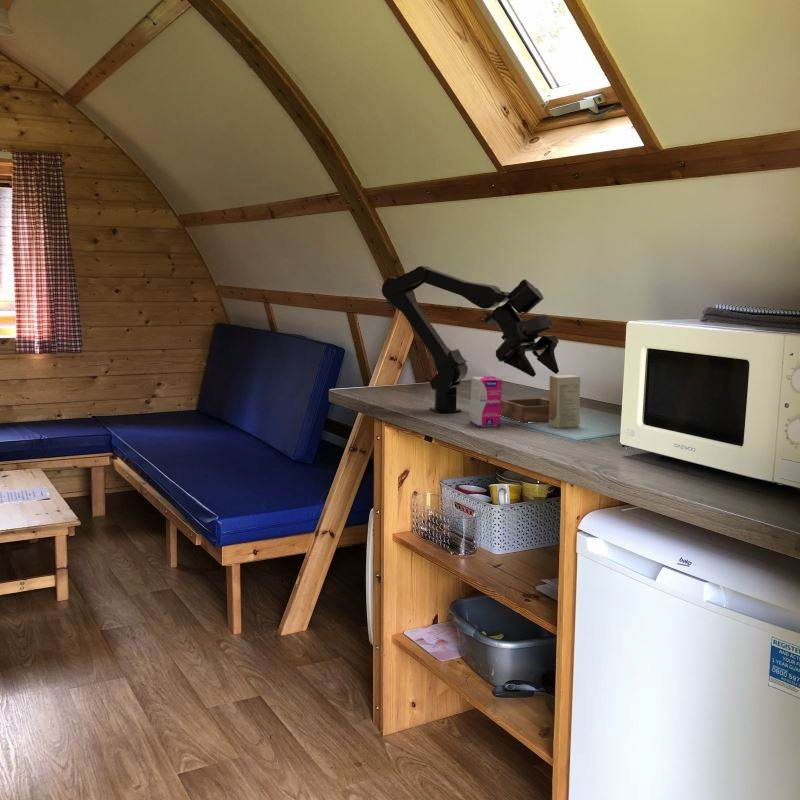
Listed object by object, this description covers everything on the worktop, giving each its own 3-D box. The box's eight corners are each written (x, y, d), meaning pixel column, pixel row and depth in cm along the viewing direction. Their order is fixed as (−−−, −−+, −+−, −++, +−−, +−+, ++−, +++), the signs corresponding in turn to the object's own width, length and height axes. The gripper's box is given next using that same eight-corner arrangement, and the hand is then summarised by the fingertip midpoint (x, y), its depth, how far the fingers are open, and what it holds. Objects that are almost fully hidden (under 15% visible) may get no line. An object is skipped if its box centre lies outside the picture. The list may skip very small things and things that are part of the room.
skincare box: (570, 424, 215) (572, 374, 213) (579, 427, 211) (582, 376, 209) (546, 425, 213) (548, 374, 211) (555, 428, 209) (557, 377, 207)
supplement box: (477, 427, 209) (479, 379, 207) (469, 423, 214) (470, 376, 213) (500, 426, 210) (502, 379, 208) (491, 422, 216) (493, 375, 214)
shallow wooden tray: (498, 415, 226) (499, 400, 225) (540, 412, 231) (540, 397, 230) (524, 423, 214) (525, 407, 214) (567, 420, 219) (568, 404, 219)
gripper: (506, 304, 209) (542, 355, 203) (553, 302, 222) (589, 350, 216) (480, 336, 216) (514, 385, 210) (527, 332, 229) (561, 379, 223)
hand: (546, 374), depth 214 cm, fingers open, 9 cm apart
